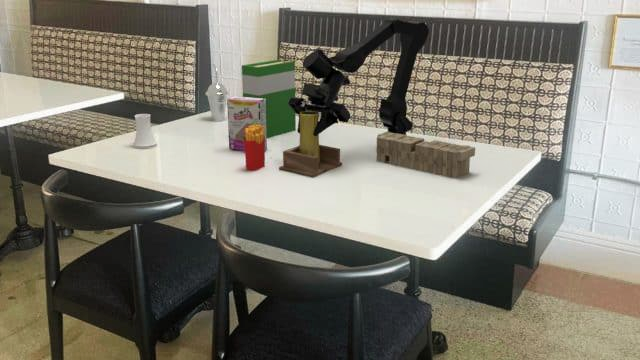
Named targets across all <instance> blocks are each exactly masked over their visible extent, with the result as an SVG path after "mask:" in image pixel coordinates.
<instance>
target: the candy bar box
mask: <svg viewBox="0 0 640 360" xmlns="http://www.w3.org/2000/svg"><path fill="white" fill-rule="evenodd" d="M226 105H227V106H226V107H227V126H228V148H229V150H230V151H238V152H245V147H244V139H245V138H246V136H245V129H246V128H248V126H251V125H252V126H255V125H260V126H264V127H265V129H264V135H265V151H266V150H267V149H268V141H267V140H268V138H267V132H266V99H262V98H249V97H243V96H238V95H237V96H236V95H234V96H231V97H228V98H226Z"/></svg>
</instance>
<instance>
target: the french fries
mask: <svg viewBox="0 0 640 360" xmlns="http://www.w3.org/2000/svg"><path fill="white" fill-rule="evenodd" d="M264 129H265V127H264V126H260V125H255V126H252V125H251V126H248V128H246V129H245V136H246V138H245V139H244V147H245V151H244V156H245V169H246V171H251V172H253V171H258V170H260V169H262V168H264V167H265V163H266V162H265V159H266V156H265V154H266V153H265V152H266V150H265V135H264Z"/></svg>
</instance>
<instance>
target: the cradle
mask: <svg viewBox="0 0 640 360" xmlns="http://www.w3.org/2000/svg"><path fill="white" fill-rule="evenodd" d="M299 146H300V145H297V146H295V147H291V148H289V149H286V150H284V151H282V158H283V159H282V162H283V165H281V166H279V167H278V170H279V171H283V172H286V173H292V174H295V175H300V176H303V177H307V178H312V179H313V178H316V177H318V176H321V175H323V174H325V173H328V172H330V171H332V170H335V169H337V168H339V167H341V166H343V162H341V148H338V147H334V146H333V147H332V146H328V145H323V144H319V152H320V162H319V163H318V157H314V156H310V155H305V154H300V153H299Z"/></svg>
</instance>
